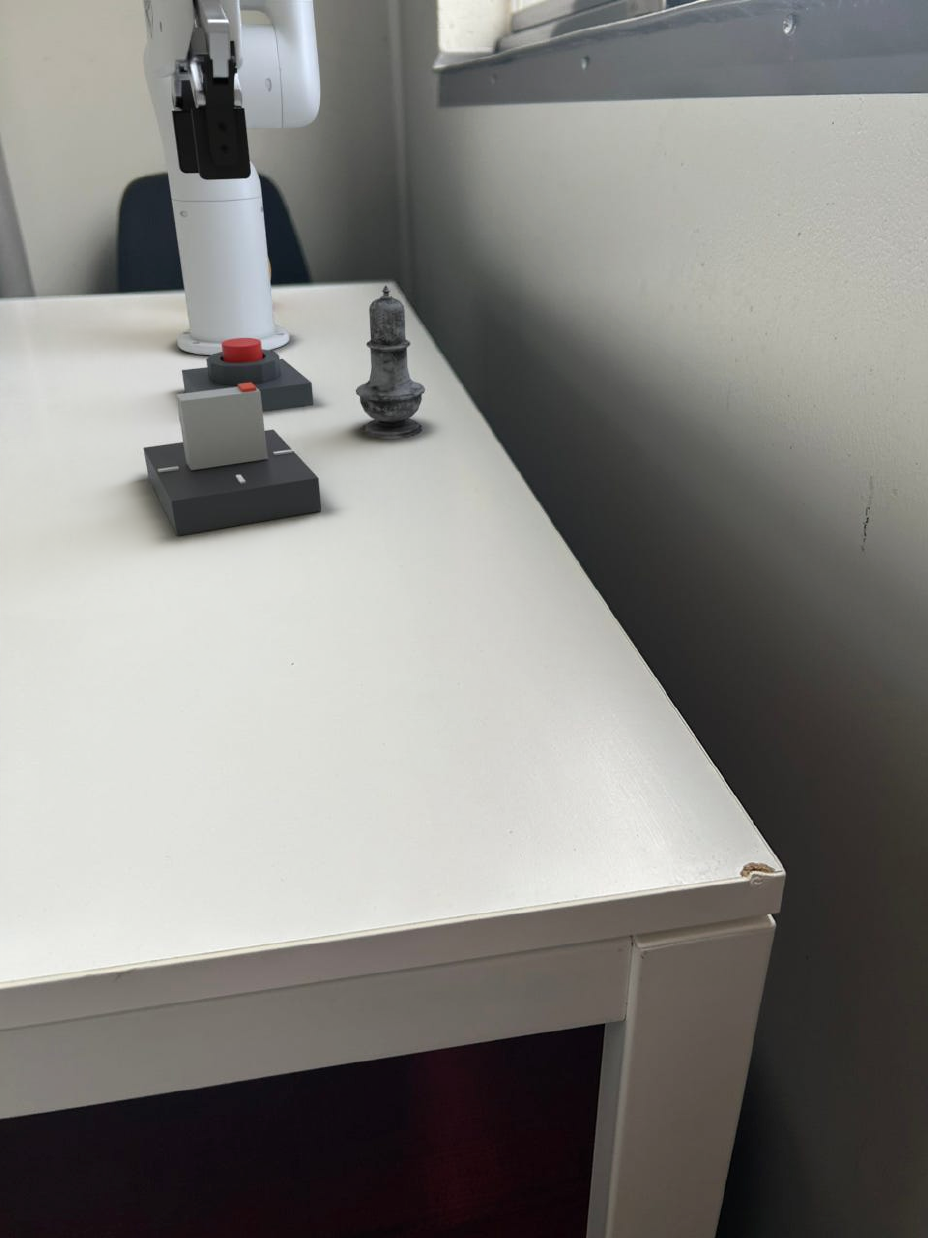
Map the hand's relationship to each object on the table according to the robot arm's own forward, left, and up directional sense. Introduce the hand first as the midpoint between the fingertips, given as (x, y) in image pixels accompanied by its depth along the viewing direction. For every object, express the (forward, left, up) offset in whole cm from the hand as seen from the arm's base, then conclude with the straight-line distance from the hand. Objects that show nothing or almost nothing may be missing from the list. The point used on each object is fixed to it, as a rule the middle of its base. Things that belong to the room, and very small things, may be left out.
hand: (213, 175), depth 67 cm
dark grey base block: (+5, -2, -21) cm, 22 cm away
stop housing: (-19, +5, -21) cm, 29 cm away
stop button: (-19, +5, -17) cm, 26 cm away
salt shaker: (-4, +14, -21) cm, 25 cm away
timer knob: (+5, -2, -18) cm, 19 cm away
